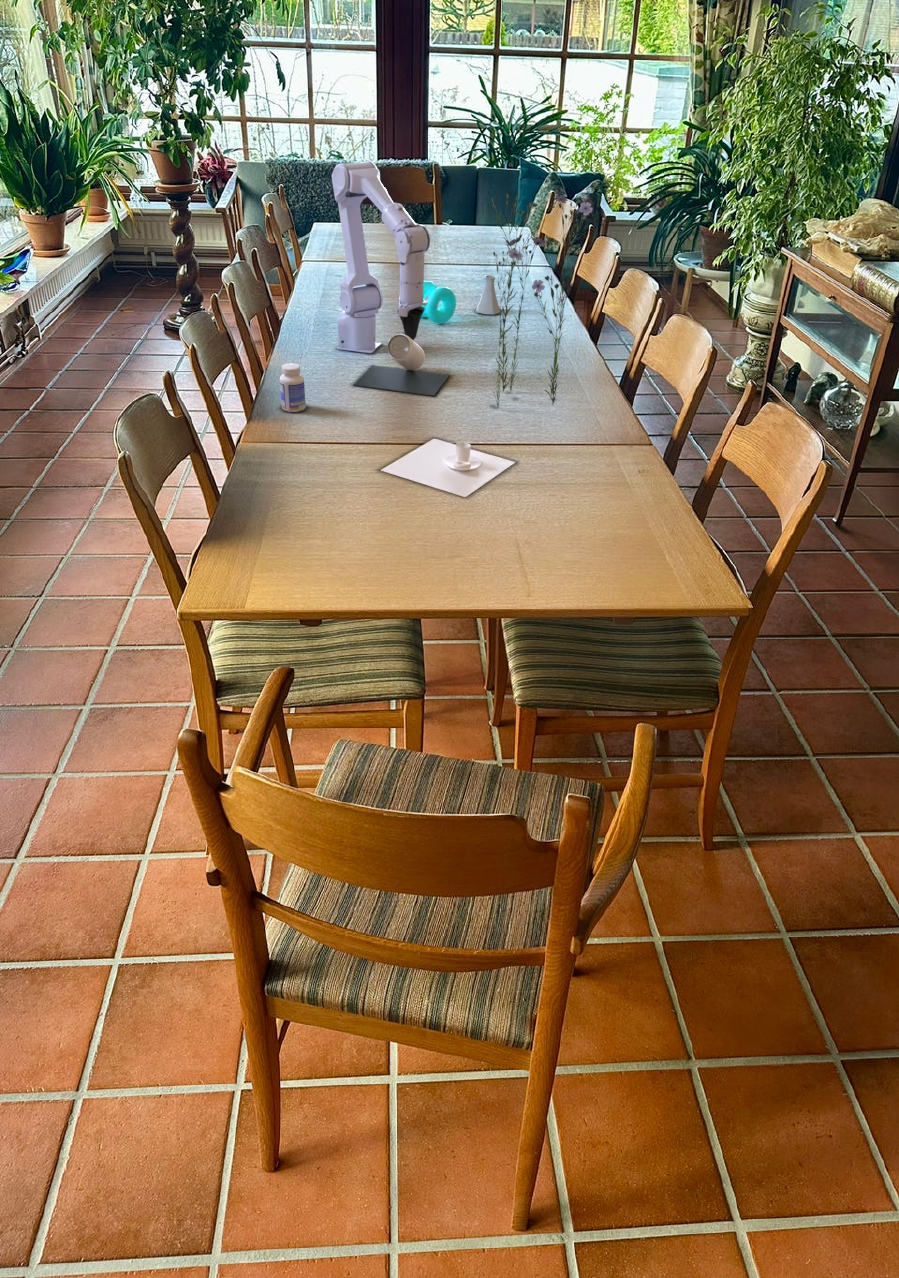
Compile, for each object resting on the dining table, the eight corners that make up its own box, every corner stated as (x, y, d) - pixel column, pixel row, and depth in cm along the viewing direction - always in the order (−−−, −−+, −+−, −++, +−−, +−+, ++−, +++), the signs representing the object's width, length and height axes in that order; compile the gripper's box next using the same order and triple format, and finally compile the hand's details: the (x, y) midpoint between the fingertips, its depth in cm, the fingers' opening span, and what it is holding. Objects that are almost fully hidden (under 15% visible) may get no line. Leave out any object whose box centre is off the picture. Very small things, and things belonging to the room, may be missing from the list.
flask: (472, 312, 288) (473, 277, 282) (480, 306, 294) (482, 271, 288) (495, 316, 286) (497, 281, 280) (503, 310, 292) (506, 275, 286)
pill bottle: (309, 405, 225) (307, 363, 219) (299, 414, 220) (296, 371, 215) (288, 402, 226) (285, 360, 220) (277, 410, 222) (274, 367, 216)
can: (424, 371, 245) (410, 360, 234) (399, 370, 247) (384, 359, 235) (426, 344, 245) (412, 332, 233) (401, 343, 246) (386, 331, 235)
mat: (353, 385, 236) (353, 384, 236) (372, 366, 248) (372, 365, 247) (433, 396, 232) (434, 395, 232) (449, 376, 244) (449, 375, 244)
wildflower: (463, 408, 227) (474, 198, 201) (496, 377, 244) (510, 180, 219) (557, 426, 220) (580, 211, 195) (584, 393, 238) (608, 191, 213)
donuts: (430, 327, 275) (431, 290, 269) (407, 318, 281) (408, 282, 276) (457, 321, 281) (459, 285, 275) (434, 312, 287) (435, 277, 281)
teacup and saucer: (467, 477, 197) (468, 458, 195) (433, 466, 200) (434, 448, 198) (489, 462, 203) (490, 443, 201) (456, 452, 207) (457, 434, 204)
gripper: (419, 290, 226) (418, 349, 234) (436, 275, 238) (434, 331, 246) (390, 287, 228) (389, 345, 235) (408, 271, 239) (407, 328, 247)
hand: (410, 338), depth 241 cm, fingers closed
